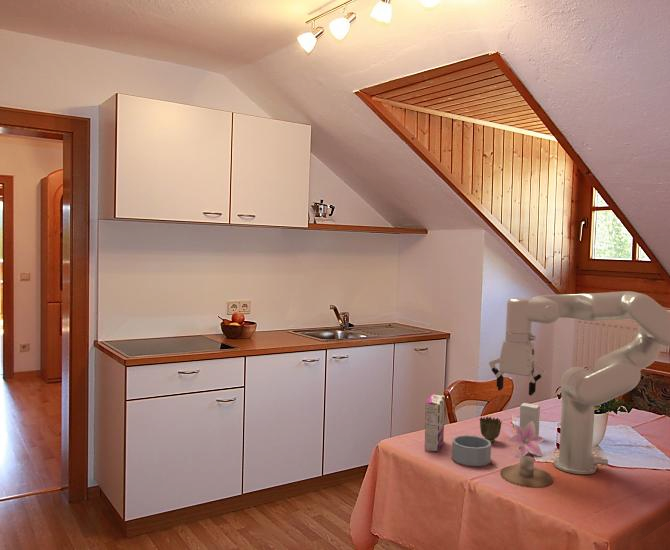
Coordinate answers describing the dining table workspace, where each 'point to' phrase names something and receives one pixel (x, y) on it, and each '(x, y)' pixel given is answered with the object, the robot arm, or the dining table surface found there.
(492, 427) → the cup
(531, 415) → the skincare box
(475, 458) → the bowl
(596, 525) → the dining table surface
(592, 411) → the robot arm
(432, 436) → the candy bar box
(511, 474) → the lid
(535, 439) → the lily
